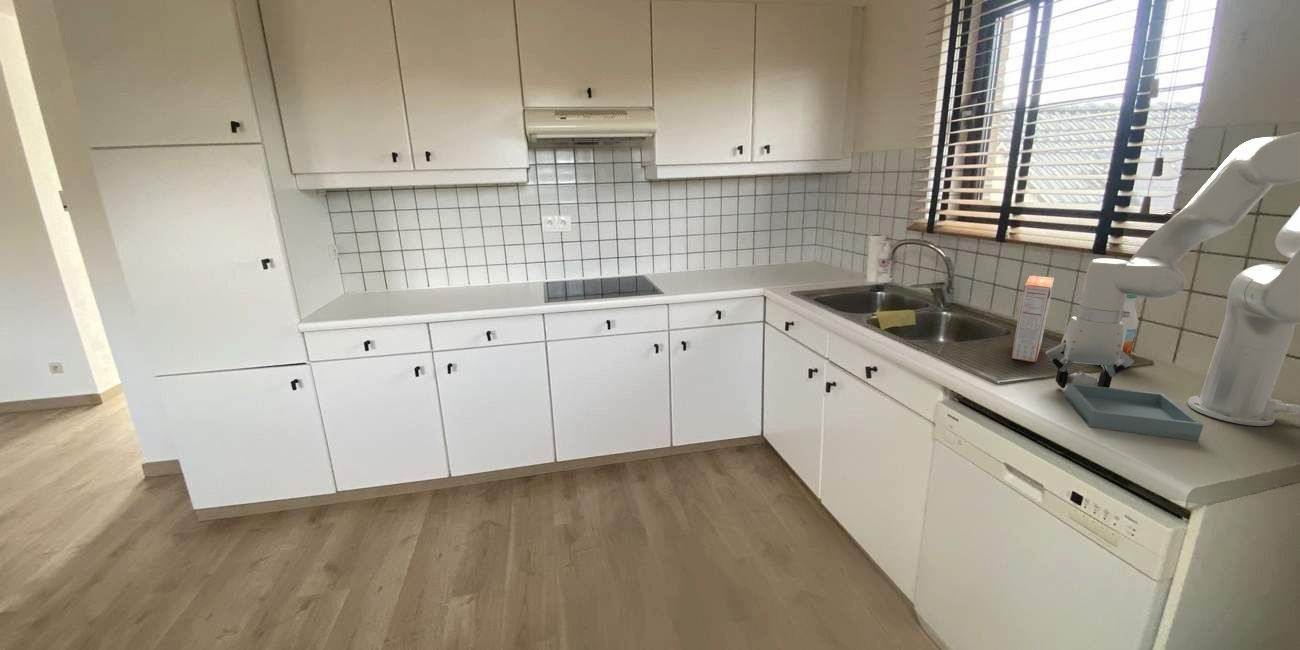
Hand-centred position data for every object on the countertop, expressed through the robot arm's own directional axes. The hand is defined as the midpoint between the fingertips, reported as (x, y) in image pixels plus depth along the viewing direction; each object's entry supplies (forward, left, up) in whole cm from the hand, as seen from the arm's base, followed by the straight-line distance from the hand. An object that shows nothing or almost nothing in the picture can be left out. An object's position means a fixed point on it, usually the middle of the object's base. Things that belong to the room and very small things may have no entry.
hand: (1081, 387), depth 123 cm
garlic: (0, 0, -1) cm, 1 cm away
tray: (-4, +13, -1) cm, 13 cm away
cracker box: (+5, -25, -1) cm, 26 cm away
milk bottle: (-13, -23, -1) cm, 26 cm away
